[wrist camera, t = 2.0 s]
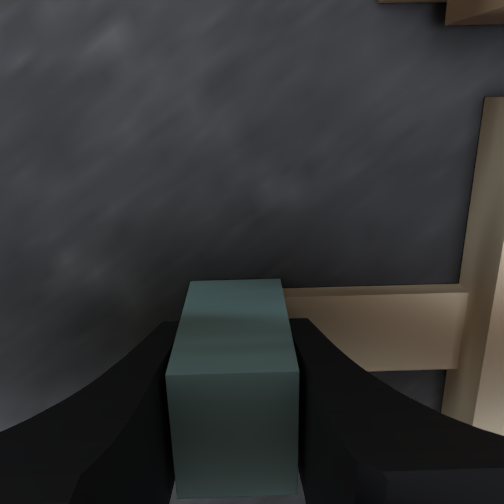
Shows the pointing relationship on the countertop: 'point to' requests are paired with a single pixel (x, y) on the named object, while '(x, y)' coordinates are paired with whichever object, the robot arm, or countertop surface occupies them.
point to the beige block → (410, 1)
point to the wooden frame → (343, 337)
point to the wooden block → (474, 12)
